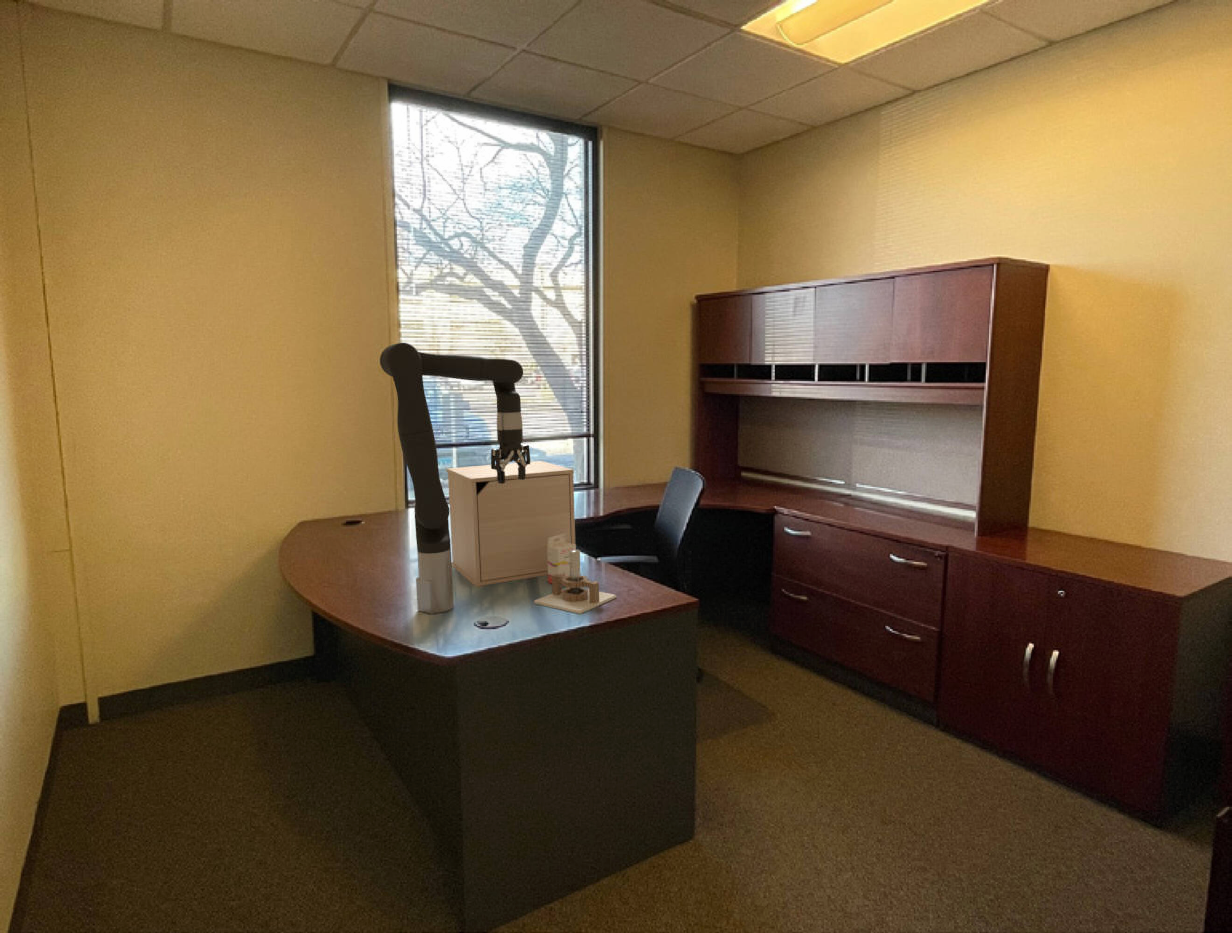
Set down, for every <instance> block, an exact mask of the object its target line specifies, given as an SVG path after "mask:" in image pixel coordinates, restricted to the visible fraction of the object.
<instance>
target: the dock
mask: <svg viewBox="0 0 1232 933" xmlns="http://www.w3.org/2000/svg"><path fill="white" fill-rule="evenodd" d="M551 587H552V589H551V590H552V592H551V593H550V594H547V595H545V596H543V597H539V598H536V599H535V600H533V601H534V602H533V603H534V604H536V605H540V606H544V607H549V608H554V609H558V610H562V611H565V612H569V613H573V614H578V615H581V614H583V613H585V612H587V611H589V610H591V609H594V608H597V607H598V606H600V605H603V604H605V603H607V602H610V601H612V600H614V599H617V594H613V593H607V592H604V591H600V583H599V581H594V580H593V581H592V580H589V577H587V576H586V575H582V574H580V581H570V576H563V575H559V574H555V575H552V583H551ZM563 587H565V588H563ZM578 587H581V593H579V594H570V588H578Z"/></svg>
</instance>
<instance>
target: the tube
mask: <svg viewBox="0 0 1232 933" xmlns="http://www.w3.org/2000/svg"><path fill="white" fill-rule="evenodd" d="M580 575H581V550H580V549H576V550H570V581H580ZM581 588H582V587H578V588H570V594H579V593H581Z"/></svg>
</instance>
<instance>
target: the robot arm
mask: <svg viewBox="0 0 1232 933" xmlns="http://www.w3.org/2000/svg"><path fill="white" fill-rule="evenodd" d="M379 364H380V367H381V369H382V371H383V372H384V373H385V374H386V375H387V376H390V377H392V380H393V383H394V387H395V391H396V396H397V419H396V422H397V423H396V424H397V433H398V437H399V443H400V446H401V451H402V455H403V458H404V461H405V464H406V467H407V469H408V473H409V474H410V478H411V483H412V486H413V493H414V510H413V512H414V523H415V525H414V527H415V540H416V552H417V568H418V570H417V571H418V577H416V578H415V586H416V600H417V601H416V602H417V604H416V605H417V611H418V612H423V613H426V614H430V615H434V614H440V613H445V612H448V611H451V610H453V608H454V607H455V606H454V604H455V603H454V602H455V601H454V588H453V587H454V586H453V584H454V583H453V566H452V563H451V562H452V543H451V533H450V529H449V528H450V527H449V525H450V523H449V518H450V505H449V504H448V501H447V499H446V496H445V493H444V489H443V485H442V482H441V479H440V478H441V476H440V471H439V470H440V469H439V460H438V459H439V458H438V450H437V444H436V438H435V432H434V429H433V424H432V420H431V415H430V410H429V405H428V402H427V398H426V395H425V394H426V393H425V388H424V378H423V376H427V377H428V376H429V377H431V376H432V377H442V378H449V379H455V380H464V381H475V382H487V381H488V382H492V384H493V388H494V393H495V396H496V413H497V414H496V434H497V435H496V438H497V443H498V445H499V447H498V448H492V449H491V450H490V465H491V469H494V470H496V471H497V480H498V483H500V484H504V483H505V471H504V469H505V467H506V465H508V463H513V462H514V463H517V465H518V466H519V467H518V478H519V479H520V480H524V479H525V477H526V469H525V467H526V466H527V465H528V464H530V462H531V453H530V452H531V451H530V450H531V449H530V445H528V444H522V443H523V442H524V439H523V438H524V435H523V417H522V406H521V404H522V403H521V396H520V393H518V392H517V390H516V385H515V384H516V383H518V382H520V381H521V380H522V378H523V376H524V368H523V366H522V365H521V363H520V362H519V361H517V360H516V359H511V358H510V359H509V358H492V357H491V358H489V357H483V356H479V355H469V354H467V355H466V354H450V353H449V354H445V353H444V354H439V353H428V352H421V351H419V350H418V349H417V348H416V347H415V346H414V345H412V344H411V343H408V342H397V343H394V344H391V345H389V346H387V347H386V348H385V349H384V350H383V351H382V352H381V354H380V356H379ZM501 465H502V466H501Z"/></svg>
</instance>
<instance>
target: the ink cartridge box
mask: <svg viewBox="0 0 1232 933" xmlns="http://www.w3.org/2000/svg"><path fill="white" fill-rule="evenodd" d="M556 538H558V539H559V538H560V540H558V541H554V540H555V539H556ZM565 539H566V534H561V535H557V536H553V537H549V538H548V547H547V555H548V575H547V583H549V584H552V575H555V574H559V575H563V576H570V550H577V544H576V543H575V544H572V543H566V542H565Z"/></svg>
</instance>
